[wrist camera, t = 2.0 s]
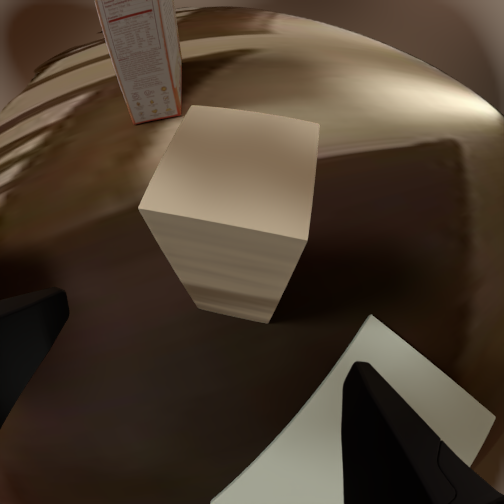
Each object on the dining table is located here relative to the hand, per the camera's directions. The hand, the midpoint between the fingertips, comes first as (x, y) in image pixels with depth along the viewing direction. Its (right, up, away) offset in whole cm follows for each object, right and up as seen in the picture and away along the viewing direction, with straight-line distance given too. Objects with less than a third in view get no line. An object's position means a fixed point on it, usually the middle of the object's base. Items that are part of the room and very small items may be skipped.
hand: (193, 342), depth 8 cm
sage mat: (+11, -14, +7) cm, 19 cm away
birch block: (+1, 0, +13) cm, 13 cm away
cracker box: (-10, +23, +23) cm, 34 cm away
